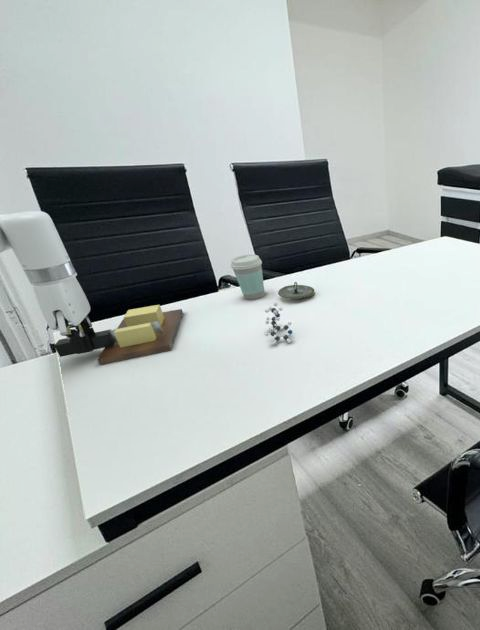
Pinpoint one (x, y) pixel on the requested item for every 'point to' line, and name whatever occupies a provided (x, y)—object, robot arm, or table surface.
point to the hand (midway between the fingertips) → (88, 347)
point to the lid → (296, 291)
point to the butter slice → (135, 335)
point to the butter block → (144, 315)
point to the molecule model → (277, 325)
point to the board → (159, 345)
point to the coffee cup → (249, 275)
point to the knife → (97, 340)
